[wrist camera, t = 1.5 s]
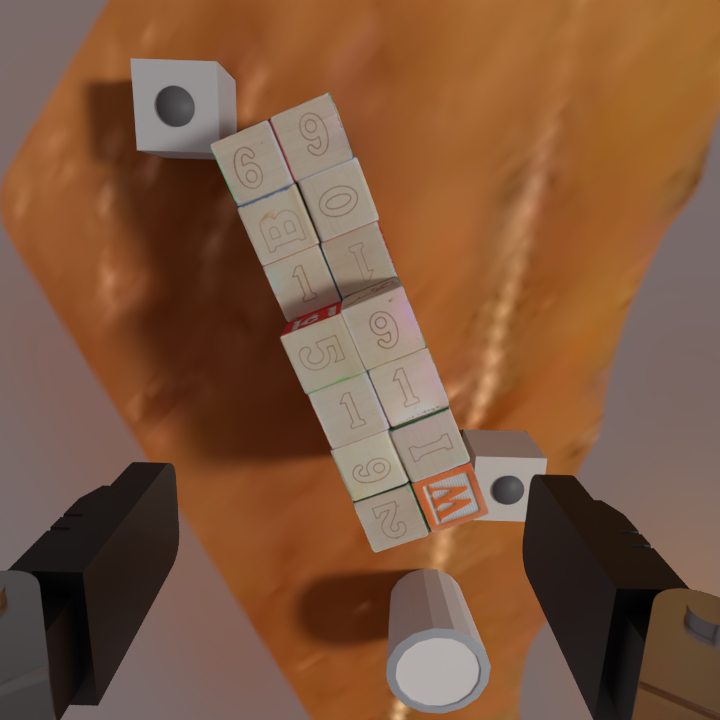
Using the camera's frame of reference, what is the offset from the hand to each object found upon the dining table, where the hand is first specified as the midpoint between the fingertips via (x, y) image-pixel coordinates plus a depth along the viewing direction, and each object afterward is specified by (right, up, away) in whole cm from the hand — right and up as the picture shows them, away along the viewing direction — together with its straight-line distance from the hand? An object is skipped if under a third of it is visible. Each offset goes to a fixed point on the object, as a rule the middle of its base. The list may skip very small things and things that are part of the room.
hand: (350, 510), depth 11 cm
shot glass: (+5, -16, +31) cm, 35 cm away
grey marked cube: (-10, +18, +22) cm, 30 cm away
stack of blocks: (0, +7, +25) cm, 26 cm away
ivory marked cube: (+10, -4, +28) cm, 30 cm away
